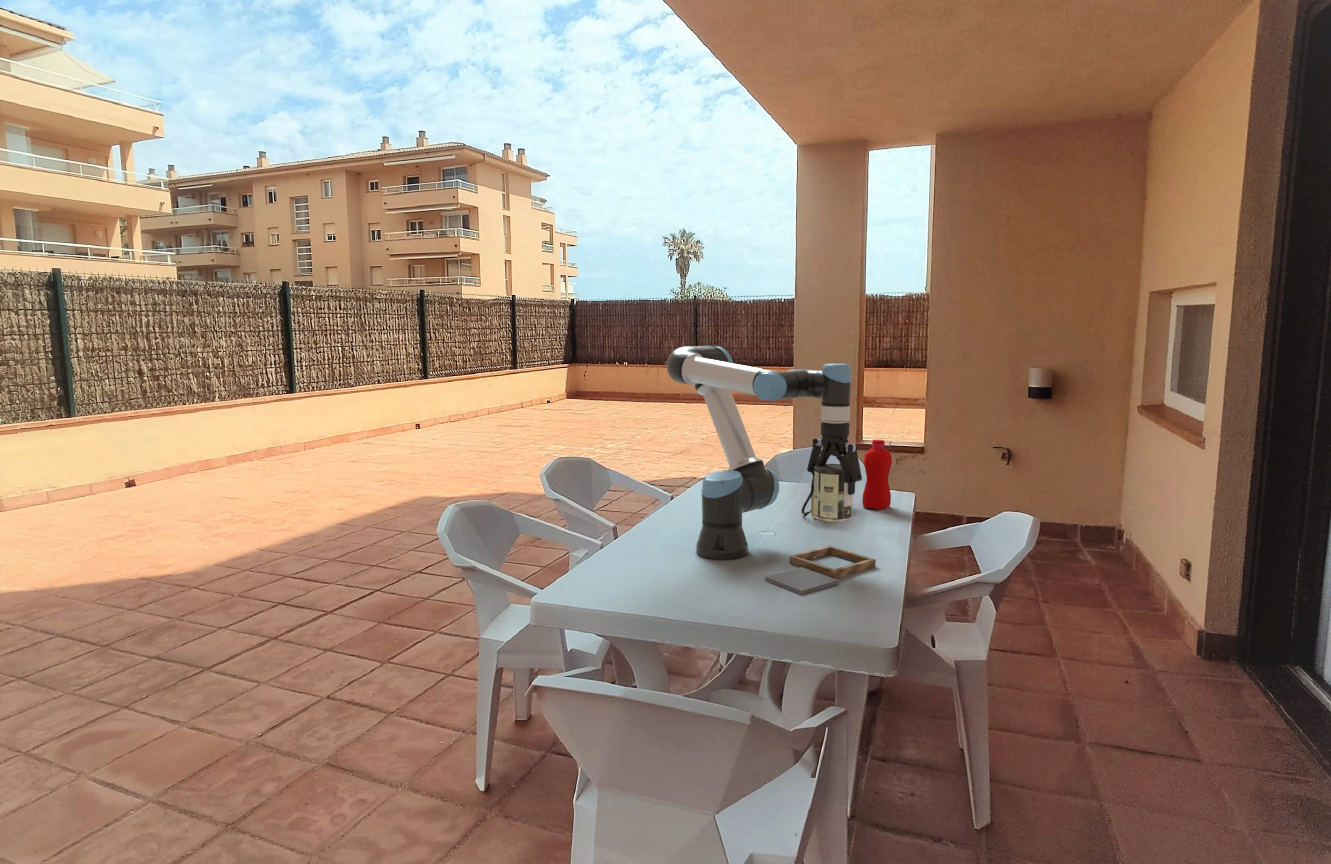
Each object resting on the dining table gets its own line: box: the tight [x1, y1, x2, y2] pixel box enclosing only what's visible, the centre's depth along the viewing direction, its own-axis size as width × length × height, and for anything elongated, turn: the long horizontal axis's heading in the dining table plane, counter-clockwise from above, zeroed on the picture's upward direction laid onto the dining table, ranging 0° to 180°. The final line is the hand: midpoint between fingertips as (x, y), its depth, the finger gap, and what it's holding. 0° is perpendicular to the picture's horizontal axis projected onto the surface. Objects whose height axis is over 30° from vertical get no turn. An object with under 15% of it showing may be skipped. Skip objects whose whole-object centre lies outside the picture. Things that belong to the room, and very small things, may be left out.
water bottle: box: [861, 439, 893, 511], centre depth 263 cm, size 9×11×25 cm
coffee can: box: [813, 463, 853, 523], centre depth 196 cm, size 10×10×14 cm
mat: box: [764, 566, 839, 595], centre depth 185 cm, size 13×13×1 cm
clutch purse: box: [801, 478, 817, 520], centre depth 259 cm, size 30×7×15 cm, turn 151°
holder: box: [788, 545, 877, 579], centre depth 199 cm, size 16×16×2 cm
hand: (832, 502), depth 197 cm, fingers closed on coffee can, 10 cm apart
